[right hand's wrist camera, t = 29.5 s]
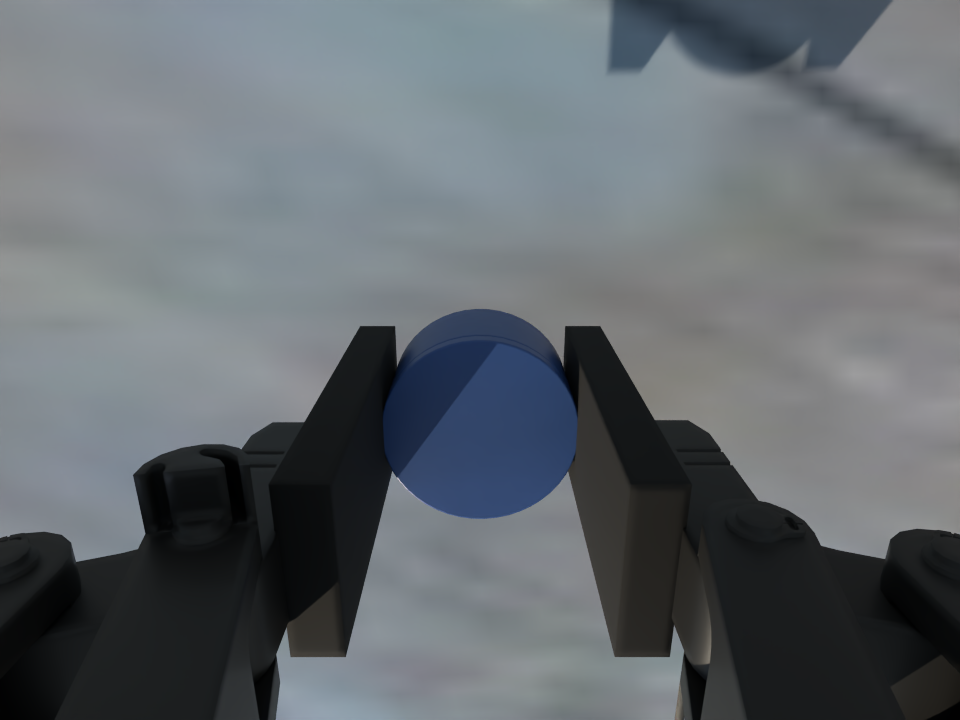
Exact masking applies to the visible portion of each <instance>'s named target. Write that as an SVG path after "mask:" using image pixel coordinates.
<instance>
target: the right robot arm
mask: <svg viewBox="0 0 960 720" xmlns="http://www.w3.org/2000/svg"><path fill="white" fill-rule="evenodd" d="M563 368H564V371H565V374H566V377H567V380H568V383H569V386H570V389H571V392H572V395H573V398H574V401H575V404H576V407H577V412H578V422H577V439H576V454H575V457H574V459H573V462H572V464H571V466H570V468H569V470H568V472H569V476H570V480H571V484H572V488H573V492H574V496H575V500H576V504H577V508H578V512H579V516H580V520H581V524H582V528H583V532H584V536H585V540H586V544H587V548H588V552H589V556H590V560H591V564H592V568H593V572H594V576H595V580H596V584H597V588H598V592H599V596H600V600H601V604H602V608H603V612H604V616H605V620H606V624H607V628H608V632H609V636H610V640H611V644H612V648H613V652H614V656H615V657H670V651H671V643H672V636H673V628H674V625H675V628H676V630H677V633H678V636H679V638H680V641H681V643H682V646H683V649H684V657H683V664H682V671H681V678H680V685H679V693H678V700H677V707H676V714H675V720H684V718H685V720H960V535H959V534H956V533H954V534H951V532H947V531H941V530H925V529H913V530H908V531H902V532H899V533H898V534H897V535H895V536H894V537H893V538H892V539H890V543H889V547H888V551H887V555H886V558H885V559H881V558H876V557H870V556H865V555H860V554H855V553H849V552H844V551H839V550H835V549H831V548H827V547H823V546H821V545H820V543H819V541H818V539H817V537H816V535H815V533H814V532H813V531H812V529H811V528H810V527H809V526H808V525H807V523H806V522H805V521H804V520H802V519H801V518H799V517H798V516H796V515H795V514H793V513H791V512H790V511H788V510H786V509H783V508H781V507H778V506H776V505H773V504H770V503H767V502H762V501H758V499H757V498H756V497H755V495H754V494H753V493H752V491H751V490H750V488H749V487H748V486H747V484H746V483H745V482H744V480H743V479H742V478H741V476H740V475H739V473H738V472H737V471H736V469H735V468H734V467H733V465H730V461H729V460H728V458H727V457H726V456H725V454H724V453H723V452H721V449H720V447H719V446H718V445H717V443H716V442H715V441H714V439H713V438H712V437H711V435H710V434H709V433H708V432H706V431H704V430H703V429H701V428H700V427H698V426H696V425H695V424H693V423H691V422H690V421H688V420H654V418H653V416H652V415H651V413H650V411H649V410H648V408H647V406H646V404H645V403H644V401H643V399H642V397H641V396H640V394H639V392H638V391H637V389H636V387H635V385H634V384H633V382H632V380H631V379H630V377H629V375H628V373H627V372H626V370H625V368H624V367H623V365H622V363H621V361H620V360H619V358H618V356H617V354H616V353H615V351H614V349H613V348H612V346H611V344H610V342H609V341H608V339H607V337H606V336H605V334H604V332H603V330H602V329H601V327H600V326H565V345H564V366H563ZM396 370H397V357H396V336H395V326H360V328H359V329H358V331H357V333H356V335H355V336H354V338H353V340H352V341H351V343H350V345H349V347H348V348H347V350H346V352H345V354H344V355H343V357H342V359H341V360H340V362H339V364H338V366H337V367H336V369H335V371H334V372H333V374H332V376H331V378H330V379H329V381H328V383H327V385H326V386H325V388H324V390H323V391H322V393H321V395H320V397H319V398H318V400H317V402H316V403H315V405H314V407H313V409H312V410H311V412H310V414H309V415H308V417H307V419H306V421H305V422H273V423H271V424H269V425H268V426H266V427H265V428H263V429H261V430H260V431H258V432H257V433H255V434H253V435H252V436H251V437H250V438H249V440H248V441H247V443H246V444H245V445H244V447H243V448H242V449H240V448H236V447H232V446H228V445H224V444H203V445H197V446H191V447H184V448H180V449H177V450H174V451H171V452H168V453H165V454H162V455H160V456H158V457H156V458H154V459H152V460H151V461H149V462H147V463H145V464H144V465H143V466H142V467H141V468H140V469H139V470H138V471H137V472H136V473H135V474H134V475H133V477H134V481H135V486H136V491H137V496H138V500H139V505H140V510H141V515H142V519H143V524H144V529H145V533H146V534H145V536H144V538H143V540H142V542H141V544H140V546H139V548H138V549H137V550H133V551H129V552H125V553H121V554H116V555H111V556H105V557H100V558H95V559H90V560H84V561H79V562H76V560H75V556H74V553H73V549H72V545H71V542H70V541H68V540H67V539H66V538H65V537H63V536H62V535H59V534H54V533H48V532H36V533H20V534H15V535H10V537H7V536H6V537H2V538H0V720H276V712H277V703H278V695H279V687H280V678H279V671H278V664H277V657H276V653H277V651H278V648H279V645H280V643H281V640H282V638H283V635H284V632H285V630H286V627H287V632H288V640H289V648H290V655H291V657H346V653H347V649H348V645H349V641H350V637H351V633H352V629H353V625H354V621H355V617H356V614H357V610H358V606H359V602H360V598H361V594H362V590H363V586H364V582H365V578H366V574H367V570H368V566H369V562H370V558H371V554H372V550H373V546H374V542H375V538H376V534H377V530H378V526H379V522H380V518H381V514H382V510H383V506H384V502H385V498H386V494H387V490H388V486H389V482H390V478H391V474H392V469H391V467H390V465H389V463H388V461H387V458H386V455H385V449H384V432H383V410H384V406H385V402H386V399H387V396H388V393H389V390H390V387H391V384H392V381H393V378H394V376H395V373H396Z"/></svg>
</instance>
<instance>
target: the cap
mask: <svg viewBox="0 0 960 720" xmlns="http://www.w3.org/2000/svg"><path fill="white" fill-rule="evenodd" d="M577 422H578V412H577V407H576V404H575V401H574V398H573V395H572V392H571V389H570V386H569V383H568V380H567V377H566V374H565V371H564V368H563V366H562V363H561V360H560V358H559V356H558V354H557V352H556V350H555V348H554V347H553V346H552V344H551V343H550V341H549V340H548V339H547V338H546V337H545V336H544V335H543V334H542V333H541V332H540V331H539V330H538V329H536V328H535V327H534V326H533V325H531V324H530V323H528V322H526V321H525V320H523V319H521V318H519V317H516V316H514V315H512V314H508V313H505V312H501V311H496V310H489V309H472V310H464V311H460V312H455V313H452V314H449V315H447V316H444V317H442V318H440V319H438V320H436V321H434V322H432V323H431V324H429V325H428V326H427V327H425V328H424V329H423V330H422V331H420V332H419V333H418V334H417V335H416V336H415V337H414V338H413V340H412V341H411V342H410V343H409V345H408V346H407V348H406V349H405V351H404V353H403V354H402V357H401V359H400V361H399V364H398V367H397V370H396V373H395V376H394V378H393V381H392V384H391V387H390V390H389V393H388V396H387V399H386V402H385V406H384V410H383V432H384V449H385V455H386V458H387V461H388V463H389V465H390V467H391V469H392V471H393V472H394V474H395V475H396V477H397V478H398V480H399V481H400V482H401V483H402V485H403V486H404V487H405V488H406V489H407V490H408V491H409V492H410V493H411V494H413V495H414V496H415V497H416V498H418V499H419V500H420V501H422V502H423V503H425V504H427V505H429V506H430V507H432V508H434V509H436V510H439V511H442V512H444V513H447V514H450V515H454V516H458V517H465V518H473V519H487V518H497V517H502V516H507V515H510V514H513V513H516V512H519V511H522V510H524V509H526V508H528V507H530V506H532V505H534V504H535V503H537V502H539V501H540V500H542V499H543V498H544V497H545V496H547V495H548V494H549V493H550V492H551V491H552V490H553V489H554V488H555V487H556V486H557V485H558V484H559V483H560V482H561V480H562V479H563V478H564V476H565V475H566V473H567V472H568V470H569V468H570V466H571V464H572V462H573V459H574V457H575V454H576V439H577Z"/></svg>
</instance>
